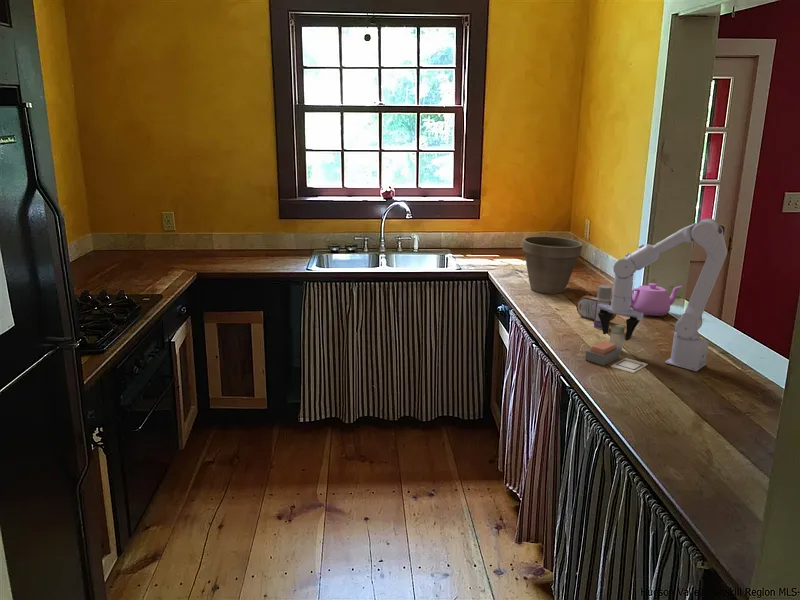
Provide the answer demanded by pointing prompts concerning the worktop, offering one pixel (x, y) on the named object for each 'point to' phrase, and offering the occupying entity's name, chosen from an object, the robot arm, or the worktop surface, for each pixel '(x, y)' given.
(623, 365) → the paper sheet
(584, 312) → the tin
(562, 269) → the plant pot
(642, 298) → the teapot
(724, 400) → the worktop surface
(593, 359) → the button housing
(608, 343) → the button
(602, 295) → the container
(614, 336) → the marker
